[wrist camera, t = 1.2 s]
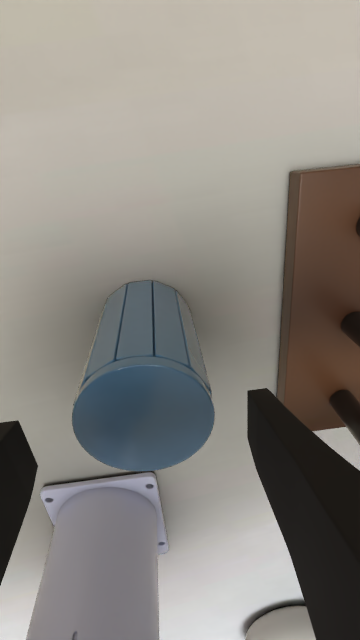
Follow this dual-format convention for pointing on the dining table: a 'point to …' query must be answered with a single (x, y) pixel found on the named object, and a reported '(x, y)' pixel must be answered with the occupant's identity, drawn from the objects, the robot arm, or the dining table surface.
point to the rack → (322, 300)
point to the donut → (283, 625)
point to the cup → (144, 382)
